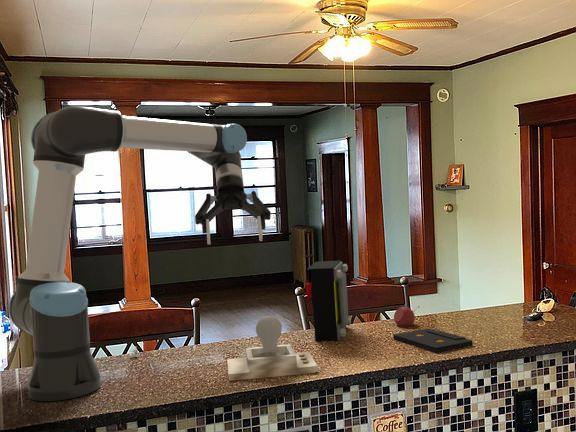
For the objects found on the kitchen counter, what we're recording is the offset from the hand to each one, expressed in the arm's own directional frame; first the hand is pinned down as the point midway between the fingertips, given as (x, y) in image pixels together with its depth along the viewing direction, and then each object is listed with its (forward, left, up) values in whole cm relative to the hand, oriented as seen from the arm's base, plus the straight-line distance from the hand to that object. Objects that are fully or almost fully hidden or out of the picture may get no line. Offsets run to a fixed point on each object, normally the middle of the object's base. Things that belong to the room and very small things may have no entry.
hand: (235, 239), depth 157 cm
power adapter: (-30, +5, -30) cm, 43 cm away
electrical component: (+26, +12, -30) cm, 42 cm away
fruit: (+50, +15, -30) cm, 60 cm away
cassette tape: (+49, -7, -30) cm, 58 cm away
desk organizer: (+6, -18, -30) cm, 35 cm away
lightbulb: (+6, -18, -28) cm, 34 cm away
